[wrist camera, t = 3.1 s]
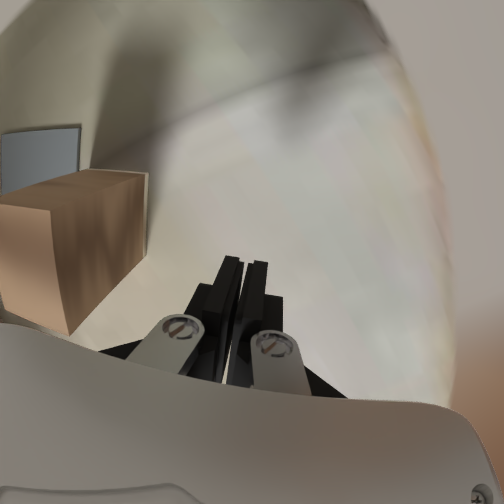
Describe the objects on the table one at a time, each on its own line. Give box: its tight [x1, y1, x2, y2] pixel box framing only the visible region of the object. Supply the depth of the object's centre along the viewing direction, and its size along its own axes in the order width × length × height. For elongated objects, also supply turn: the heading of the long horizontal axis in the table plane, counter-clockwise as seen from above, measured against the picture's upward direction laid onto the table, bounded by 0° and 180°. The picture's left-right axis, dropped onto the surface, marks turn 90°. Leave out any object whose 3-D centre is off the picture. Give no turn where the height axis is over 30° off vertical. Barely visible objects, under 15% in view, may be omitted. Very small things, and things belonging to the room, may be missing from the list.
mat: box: [1, 128, 81, 195], centre depth 20 cm, size 12×10×1 cm
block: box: [0, 168, 149, 337], centre depth 15 cm, size 6×5×10 cm
